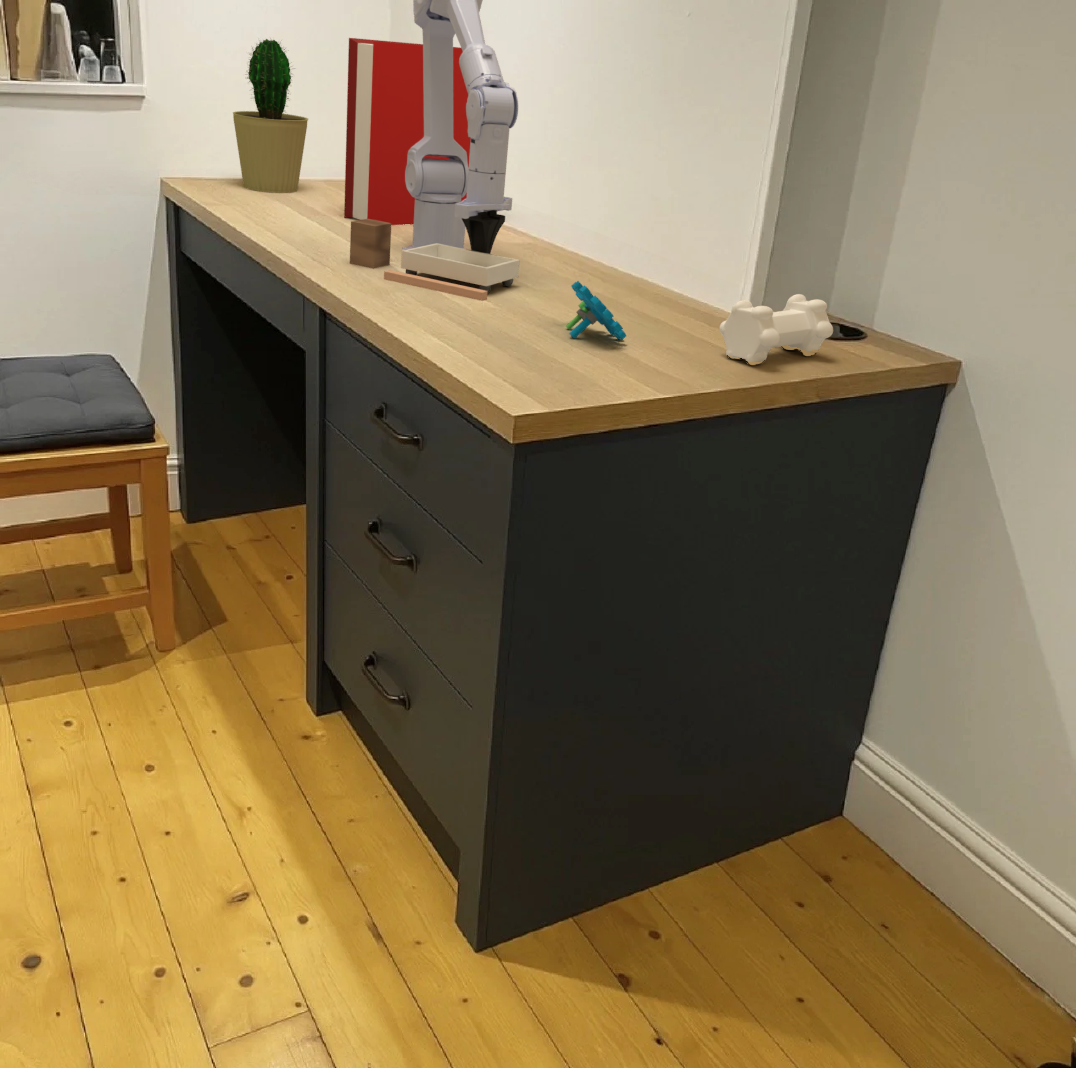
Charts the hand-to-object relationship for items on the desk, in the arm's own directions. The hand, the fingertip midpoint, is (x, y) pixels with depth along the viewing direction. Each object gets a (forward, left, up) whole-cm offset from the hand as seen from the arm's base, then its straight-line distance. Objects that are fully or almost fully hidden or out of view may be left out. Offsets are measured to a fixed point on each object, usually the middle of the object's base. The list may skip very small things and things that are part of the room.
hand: (480, 260), depth 174 cm
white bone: (+8, +50, -3) cm, 51 cm away
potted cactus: (-41, -75, -3) cm, 86 cm away
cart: (+6, 0, -2) cm, 7 cm away
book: (-37, -36, -3) cm, 52 cm away
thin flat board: (+2, 0, -3) cm, 4 cm away
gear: (+18, +28, -3) cm, 34 cm away
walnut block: (+7, -16, -3) cm, 18 cm away
